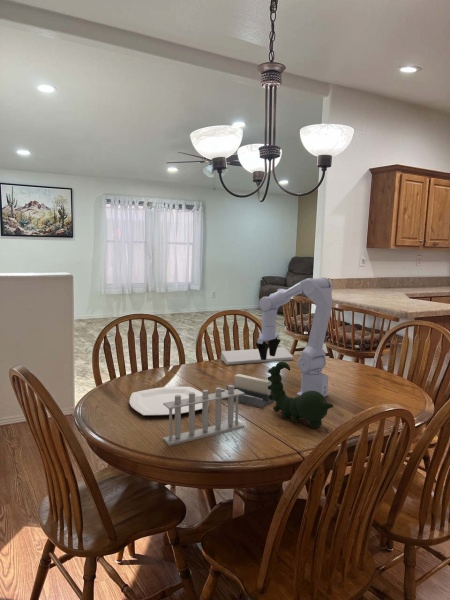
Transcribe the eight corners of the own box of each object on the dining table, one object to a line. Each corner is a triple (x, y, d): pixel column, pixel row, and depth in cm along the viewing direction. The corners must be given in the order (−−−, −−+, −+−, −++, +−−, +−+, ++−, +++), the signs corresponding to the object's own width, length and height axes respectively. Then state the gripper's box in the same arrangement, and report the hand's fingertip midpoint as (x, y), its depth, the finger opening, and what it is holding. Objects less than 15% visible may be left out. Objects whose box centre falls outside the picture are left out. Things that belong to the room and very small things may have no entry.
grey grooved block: (282, 395, 160) (283, 387, 160) (261, 408, 147) (261, 399, 146) (242, 385, 170) (242, 378, 170) (218, 396, 157) (218, 389, 157)
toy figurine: (262, 418, 143) (324, 437, 123) (260, 361, 142) (322, 372, 122) (282, 411, 149) (343, 429, 129) (280, 357, 148) (341, 367, 128)
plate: (124, 396, 157) (124, 391, 157) (194, 388, 167) (194, 383, 167) (136, 424, 133) (136, 418, 132) (218, 413, 142) (218, 408, 142)
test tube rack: (236, 422, 135) (237, 382, 133) (244, 427, 131) (245, 386, 129) (162, 440, 122) (162, 395, 120) (169, 446, 118) (169, 400, 116)
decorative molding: (291, 365, 212) (283, 355, 221) (293, 356, 210) (284, 347, 219) (226, 370, 201) (220, 359, 210) (227, 361, 199) (221, 351, 208)
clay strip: (270, 396, 155) (270, 380, 154) (266, 398, 153) (267, 382, 152) (238, 389, 163) (238, 373, 162) (234, 390, 161) (234, 375, 160)
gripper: (268, 322, 184) (268, 352, 185) (251, 326, 172) (250, 359, 174) (283, 323, 180) (282, 355, 181) (266, 329, 168) (265, 362, 170)
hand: (267, 357), depth 177 cm, fingers open, 7 cm apart
